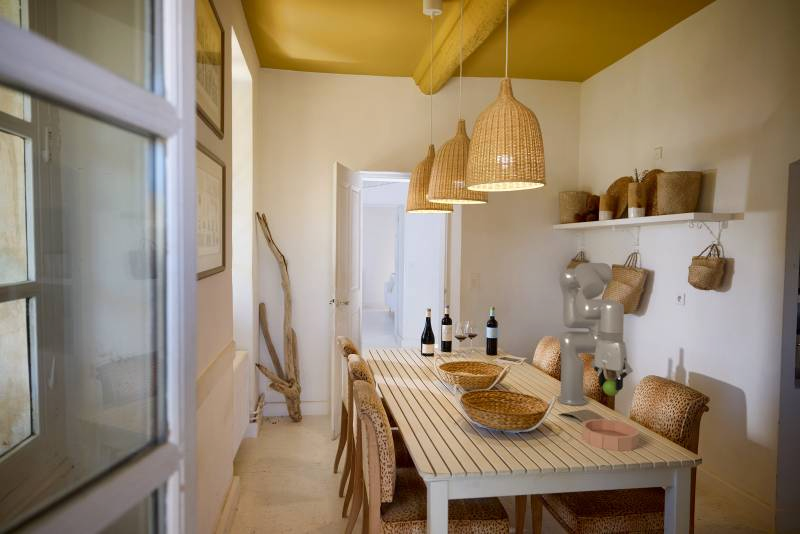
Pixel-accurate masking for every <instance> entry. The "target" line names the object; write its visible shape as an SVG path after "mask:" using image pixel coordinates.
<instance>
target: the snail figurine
mask: <svg viewBox="0 0 800 534" xmlns="http://www.w3.org/2000/svg"><path fill="white" fill-rule="evenodd" d="M602 364H604V366H603V372H604V376H605V378H606V381H605V383H604V384H603V386H602V391H603V392H604V394H605V395H608V396H609V397H614V396H616V395H618V393H619V392H620V390H618V391H617V390H616V379H617V374H616V371H612V370H607V369H606V367H605V363H602Z"/></svg>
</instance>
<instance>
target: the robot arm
mask: <svg viewBox="0 0 800 534" xmlns="http://www.w3.org/2000/svg"><path fill="white" fill-rule="evenodd" d="M612 279H613V270H612V268H611V266H610V265H609V264H608V263H605V262H582V263H579V264H577V266H575V267H574V268H567V269H563V270H562V271H560V274H559V280H558V281H559V286H560V289H561V292H562V297H563V298H562V301H563V303H562V307H563V308H562V315H563V316H562V319H563V320H562V321H563V324H564V326H565V328H569V329H588V331H587V330H586V331H583V330H582V331H581V330H570V331H569V330H567V331H563V332H562V333H561V334H560V335H559V338H558V339H559V348H560V361H561V362H560V366H561V367H560V395H558V396H557V397H556V401H557V402H558V403H560V404H563V405H565V406H574V407H575V406H579V407H581V406H585V405H587V402H588V401H587V399H586V398H585V397H584V396H586V395H588V391H587V390H585V389H584V371H585V370H584V368H585V367H584V366H585V365H584V364H585V363H584V361H583V359H582V358H581V357H580V356H579V354H594V358H593V360H592V361H590V365H591V367H592V368H594V370H595V372H596V374H597V375H598V386H599V387H602V388H603V384H604V383H605V382H606V381H607V379H606V378H605V376H604V372H603V366H604V364H602V363H605V367H606V369H607V370H612V371H616V374H617V376H616V377H617V378H616V380H615V382H616V390H617V391H618V390H619V391H621V390H623V387H624V379H625V378H626V377H627V376H629V374H631V373H633V369H632V367H631V366H630V365H629V363H628V352H627V346H626V341H624V323H625V321H624V319H625V318H624V316H625V306H624V304H623V303H622V302H618V301H617V300H615V299H604V298H603V299H600V298H598V297H599V296H601V295H602V294H603V293H604V291H605V287H606V285H609V284H610V282H611V281H612ZM596 298H597V299H596ZM624 370H625V371H624Z"/></svg>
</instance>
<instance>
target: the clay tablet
mask: <svg viewBox="0 0 800 534" xmlns="http://www.w3.org/2000/svg"><path fill="white" fill-rule="evenodd" d="M560 414H561V413H560ZM560 414H558V416H561V415H560ZM562 415H570V416H573V417H575V418H576V419H578V420H579V421H581V423H582V422H585V421H587V420H592V419H605V418H604V417H603V416H602V415H601V414H599V413H597V412H594V411H593V410H590V409H586V408H585V409H580V410H575V411H569V412H563V413H562Z"/></svg>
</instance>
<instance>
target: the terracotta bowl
mask: <svg viewBox="0 0 800 534" xmlns="http://www.w3.org/2000/svg"><path fill="white" fill-rule="evenodd" d="M581 440H582V441H584V442H585V443H587V444H588V445H590V446H593V447H595V448H599V449H603V450H607V449H608V451H615V452H621V451H622V452H624V451H625V452H626V451H633V450H635V449H637V448H639V445H640V432H639V429H638V428H636V427H635V426H633V425H631V424H629V423H625V422H622V421H618V420H613V419H605V418H604V419H592V420H587V421H585V422H582V421H581Z"/></svg>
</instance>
